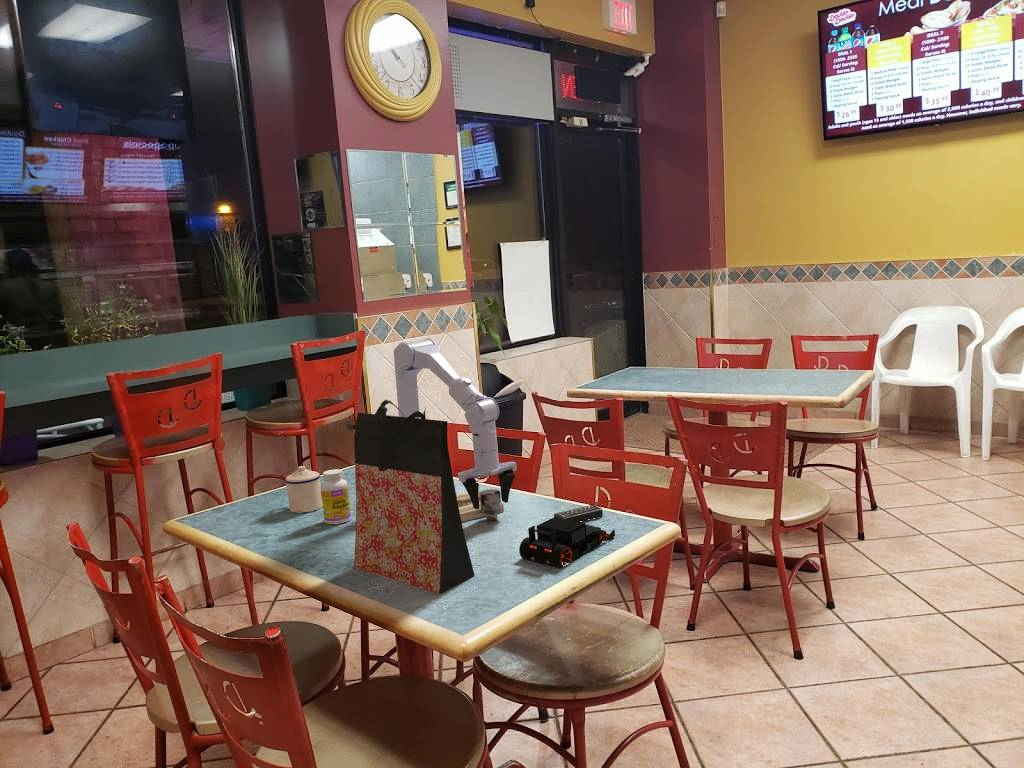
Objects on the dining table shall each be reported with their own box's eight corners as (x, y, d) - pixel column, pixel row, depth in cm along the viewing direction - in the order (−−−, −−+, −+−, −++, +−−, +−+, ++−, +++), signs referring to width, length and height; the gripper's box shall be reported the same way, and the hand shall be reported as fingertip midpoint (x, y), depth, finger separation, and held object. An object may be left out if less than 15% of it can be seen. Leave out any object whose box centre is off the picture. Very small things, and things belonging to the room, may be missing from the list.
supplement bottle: (332, 527, 188) (326, 476, 186) (320, 522, 193) (313, 472, 191) (356, 519, 192) (350, 470, 190) (343, 514, 197) (337, 466, 195)
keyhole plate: (424, 508, 196) (423, 501, 196) (477, 496, 203) (476, 489, 203) (448, 525, 182) (447, 517, 182) (504, 511, 189) (503, 503, 188)
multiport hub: (603, 518, 179) (603, 508, 179) (562, 528, 174) (562, 518, 174) (593, 513, 183) (593, 504, 183) (553, 523, 178) (552, 513, 178)
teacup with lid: (330, 505, 206) (325, 464, 204) (303, 516, 199) (297, 472, 197) (303, 500, 213) (298, 460, 212) (276, 509, 207) (270, 468, 205)
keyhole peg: (478, 519, 185) (475, 492, 184) (496, 514, 187) (494, 488, 186) (487, 524, 180) (484, 497, 179) (505, 520, 182) (503, 492, 181)
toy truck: (615, 539, 165) (613, 507, 164) (560, 571, 150) (557, 536, 149) (576, 531, 172) (574, 500, 171) (519, 561, 157) (516, 527, 156)
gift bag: (484, 570, 153) (468, 399, 147) (433, 597, 142) (413, 413, 137) (389, 545, 172) (371, 392, 167) (337, 567, 161) (317, 405, 156)
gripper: (464, 458, 174) (469, 515, 176) (520, 447, 180) (525, 502, 182) (452, 453, 180) (458, 508, 182) (507, 442, 187) (511, 495, 189)
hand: (490, 504), depth 183 cm, fingers open, 7 cm apart
